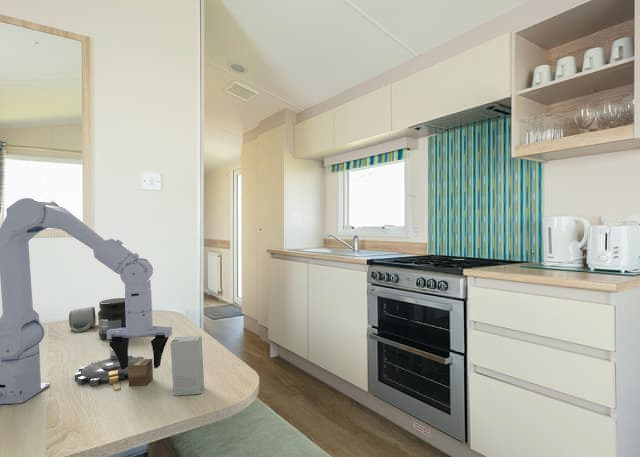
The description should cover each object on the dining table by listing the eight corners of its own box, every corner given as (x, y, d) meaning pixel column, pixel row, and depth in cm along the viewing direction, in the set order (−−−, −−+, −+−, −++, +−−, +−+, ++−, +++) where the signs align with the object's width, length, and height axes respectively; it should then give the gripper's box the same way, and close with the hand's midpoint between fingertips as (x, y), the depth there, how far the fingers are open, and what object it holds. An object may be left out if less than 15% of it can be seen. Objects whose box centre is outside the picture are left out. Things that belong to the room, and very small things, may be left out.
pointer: (120, 389, 90) (120, 388, 90) (114, 390, 89) (114, 389, 89) (118, 384, 93) (118, 382, 93) (113, 385, 92) (113, 384, 92)
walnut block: (146, 386, 92) (145, 364, 91) (128, 386, 91) (128, 365, 91) (152, 379, 96) (152, 358, 95) (136, 379, 96) (135, 358, 95)
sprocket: (161, 367, 103) (161, 350, 103) (99, 391, 89) (98, 371, 89) (124, 357, 111) (123, 341, 111) (61, 377, 97) (61, 359, 97)
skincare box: (204, 386, 90) (203, 334, 90) (200, 395, 86) (199, 340, 86) (177, 388, 90) (175, 335, 90) (171, 397, 85) (170, 341, 85)
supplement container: (134, 330, 140) (133, 296, 139) (132, 338, 130) (131, 302, 130) (101, 333, 136) (100, 299, 135) (96, 342, 126) (94, 305, 126)
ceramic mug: (72, 326, 146) (71, 306, 146) (96, 323, 149) (95, 304, 149) (67, 334, 137) (66, 313, 136) (93, 331, 140) (92, 310, 140)
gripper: (175, 305, 97) (177, 360, 98) (116, 307, 97) (118, 362, 97) (165, 312, 90) (167, 371, 91) (101, 314, 90) (103, 373, 90)
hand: (140, 367), depth 93 cm, fingers open, 7 cm apart
